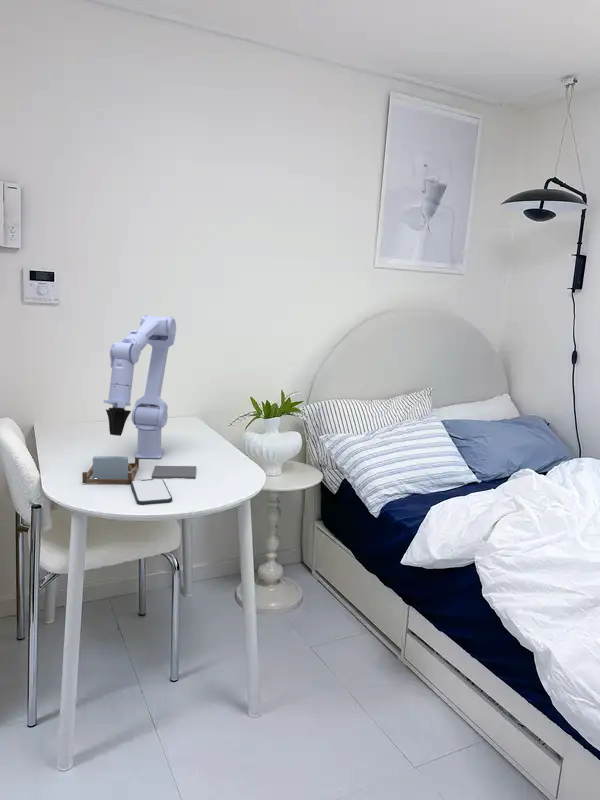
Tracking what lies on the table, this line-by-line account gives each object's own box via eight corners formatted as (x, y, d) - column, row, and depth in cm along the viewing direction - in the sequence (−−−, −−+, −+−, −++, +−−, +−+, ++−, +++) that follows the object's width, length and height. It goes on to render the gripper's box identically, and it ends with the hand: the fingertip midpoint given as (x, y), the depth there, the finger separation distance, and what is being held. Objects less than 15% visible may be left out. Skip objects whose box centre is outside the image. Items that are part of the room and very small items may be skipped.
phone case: (173, 505, 147) (163, 483, 161) (173, 499, 146) (163, 477, 161) (136, 508, 143) (129, 485, 158) (136, 502, 143) (129, 480, 157)
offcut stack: (99, 468, 170) (99, 462, 170) (131, 468, 171) (131, 463, 171) (97, 471, 167) (97, 465, 167) (130, 471, 168) (130, 466, 168)
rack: (94, 466, 171) (94, 456, 170) (138, 467, 173) (138, 457, 172) (82, 484, 156) (82, 473, 155) (131, 484, 158) (131, 473, 157)
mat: (155, 467, 173) (155, 465, 173) (196, 468, 175) (196, 466, 175) (151, 478, 164) (151, 476, 163) (195, 478, 165) (195, 476, 165)
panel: (94, 477, 162) (94, 456, 161) (127, 477, 164) (128, 456, 163) (92, 479, 160) (92, 458, 159) (126, 479, 162) (126, 458, 161)
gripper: (103, 385, 166) (97, 433, 165) (108, 382, 153) (102, 434, 152) (129, 388, 169) (123, 435, 168) (135, 385, 155) (130, 436, 154)
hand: (115, 435), depth 160 cm, fingers open, 7 cm apart
